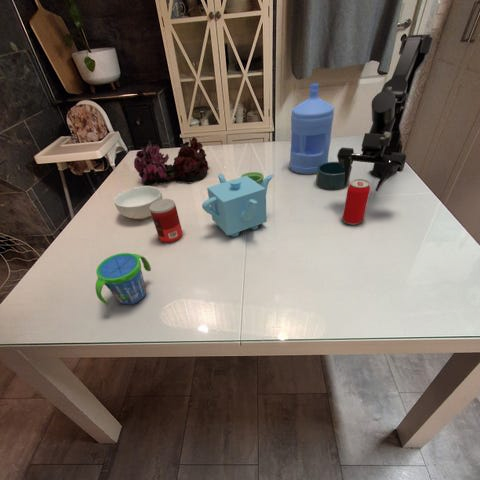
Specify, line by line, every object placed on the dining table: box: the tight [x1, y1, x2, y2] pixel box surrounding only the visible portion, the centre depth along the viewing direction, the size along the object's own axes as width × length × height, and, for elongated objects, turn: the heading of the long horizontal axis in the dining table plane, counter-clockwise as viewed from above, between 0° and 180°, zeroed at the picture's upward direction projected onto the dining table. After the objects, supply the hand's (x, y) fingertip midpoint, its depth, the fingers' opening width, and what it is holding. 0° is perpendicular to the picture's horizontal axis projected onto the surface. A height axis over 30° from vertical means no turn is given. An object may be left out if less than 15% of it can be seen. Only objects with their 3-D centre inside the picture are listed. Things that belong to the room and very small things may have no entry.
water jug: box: [289, 82, 335, 175], centre depth 115 cm, size 16×16×28 cm
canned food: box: [149, 198, 183, 244], centre depth 94 cm, size 8×8×11 cm
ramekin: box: [240, 171, 265, 185], centre depth 115 cm, size 9×9×4 cm
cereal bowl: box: [113, 185, 163, 220], centre depth 108 cm, size 17×17×7 cm
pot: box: [315, 161, 351, 191], centre depth 112 cm, size 12×12×6 cm
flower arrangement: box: [133, 136, 209, 186], centre depth 125 cm, size 31×20×15 cm, turn 101°
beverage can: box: [342, 178, 371, 225], centre depth 90 cm, size 6×6×12 cm
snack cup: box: [95, 252, 152, 306], centre depth 76 cm, size 16×10×10 cm
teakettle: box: [201, 173, 275, 238], centre depth 93 cm, size 19×19×15 cm
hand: (360, 188), depth 89 cm, fingers open, 9 cm apart
